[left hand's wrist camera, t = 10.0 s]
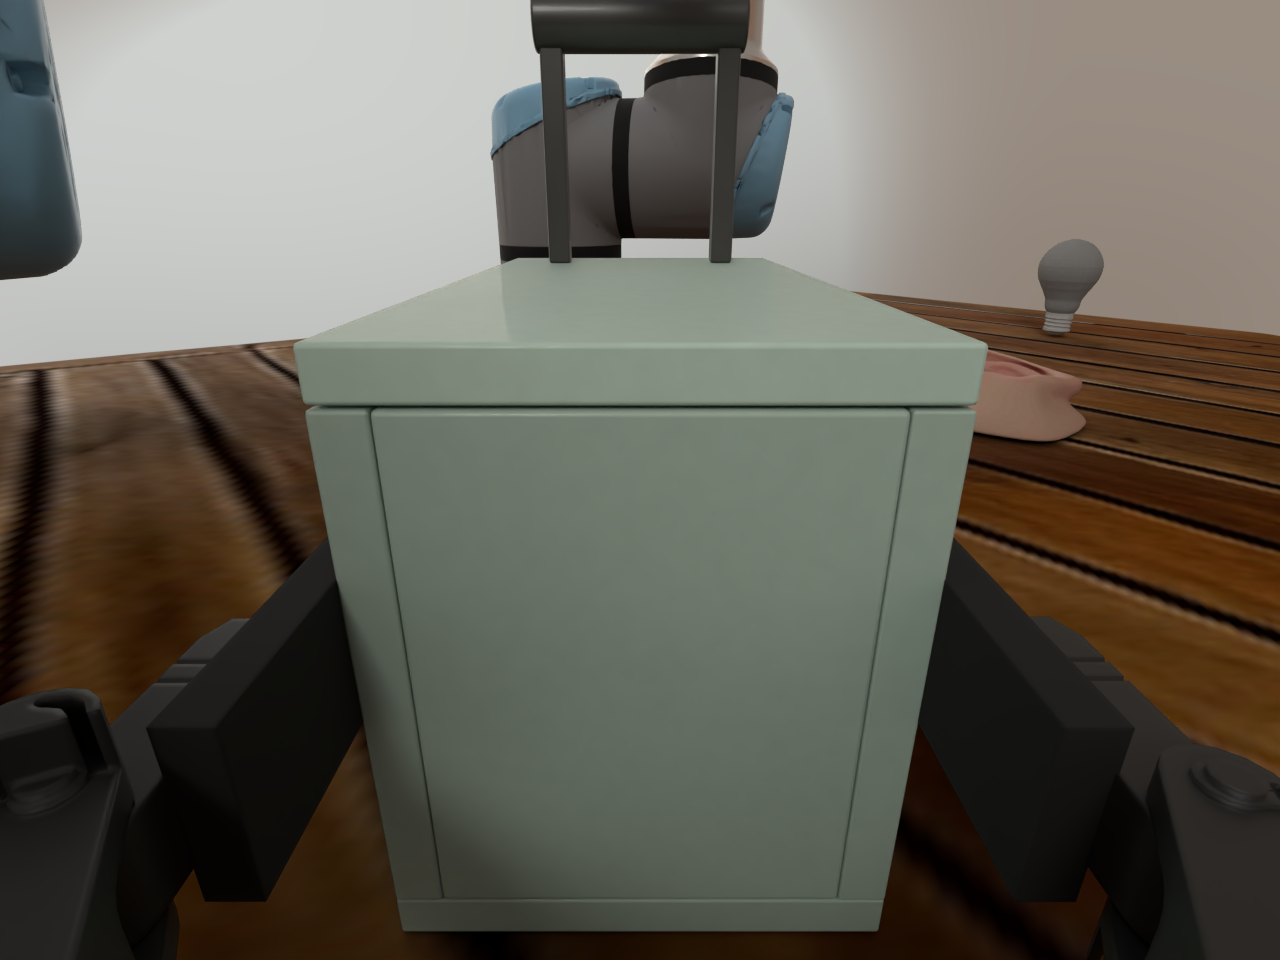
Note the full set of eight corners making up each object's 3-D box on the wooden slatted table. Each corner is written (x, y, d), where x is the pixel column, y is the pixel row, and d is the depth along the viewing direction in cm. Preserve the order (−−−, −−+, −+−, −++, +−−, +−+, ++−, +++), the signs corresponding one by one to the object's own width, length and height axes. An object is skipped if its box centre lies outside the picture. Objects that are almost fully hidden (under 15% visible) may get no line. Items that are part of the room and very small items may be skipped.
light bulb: (1038, 338, 73) (1059, 240, 70) (1016, 329, 79) (1035, 238, 75) (1097, 339, 73) (1121, 240, 69) (1071, 330, 78) (1093, 238, 74)
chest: (530, 542, 29) (513, 285, 25) (749, 542, 29) (766, 285, 25) (401, 933, 13) (301, 411, 9) (879, 932, 13) (979, 411, 9)
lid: (517, 282, 26) (500, 11, 22) (762, 282, 26) (780, 11, 22) (300, 407, 9) (123, -528, 6) (979, 407, 9) (1158, -528, 6)
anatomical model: (1118, 382, 38) (899, 364, 42) (1100, 450, 39) (890, 426, 43) (1081, 342, 49) (911, 332, 53) (1068, 396, 50) (904, 381, 55)
